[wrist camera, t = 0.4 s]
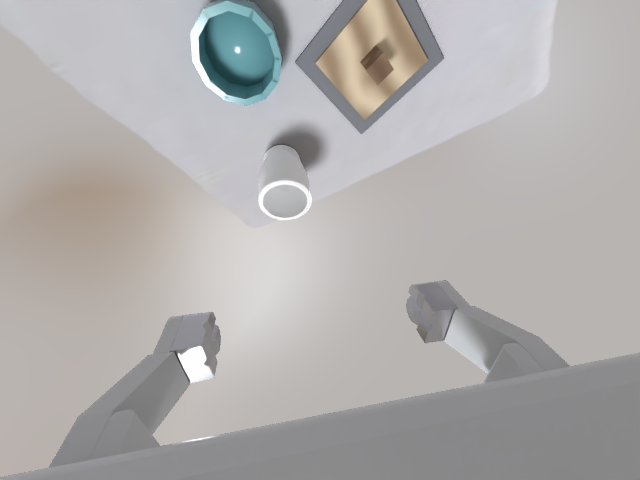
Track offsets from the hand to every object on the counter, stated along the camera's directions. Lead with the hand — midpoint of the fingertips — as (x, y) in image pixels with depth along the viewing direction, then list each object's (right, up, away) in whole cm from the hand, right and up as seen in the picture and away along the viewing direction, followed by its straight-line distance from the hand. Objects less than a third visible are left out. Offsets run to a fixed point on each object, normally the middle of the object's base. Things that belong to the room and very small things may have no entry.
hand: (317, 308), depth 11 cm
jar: (-9, +22, +51) cm, 56 cm away
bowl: (-13, +35, +33) cm, 50 cm away
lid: (+10, +36, +37) cm, 53 cm away
